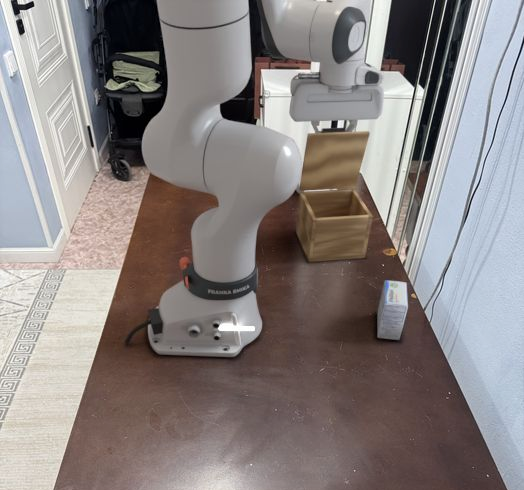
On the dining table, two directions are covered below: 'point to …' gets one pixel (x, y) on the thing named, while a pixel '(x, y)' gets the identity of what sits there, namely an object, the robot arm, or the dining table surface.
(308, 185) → the chest lid
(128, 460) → the dining table surface
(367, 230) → the chest
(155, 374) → the dining table surface
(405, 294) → the medicine box
